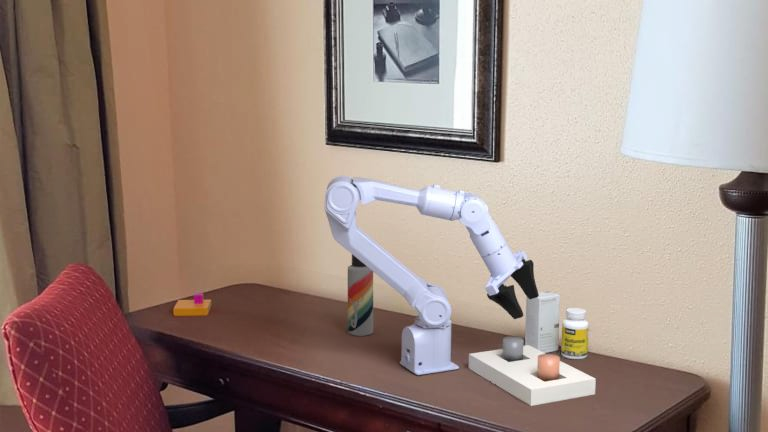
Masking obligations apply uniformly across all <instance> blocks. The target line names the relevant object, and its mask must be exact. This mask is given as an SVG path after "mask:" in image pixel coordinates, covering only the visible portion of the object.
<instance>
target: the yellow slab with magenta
mask: <svg viewBox="0 0 768 432" xmlns="http://www.w3.org/2000/svg"><path fill="white" fill-rule="evenodd" d="M211 308H212V299H204V292H202V293H199V292H198V293H196V292H195V293H194V295H193V299H178V300H177V302H176V303H175V305H174V307H173V311H172V312H173V316H174V317H176V316H177V317H179V316H181V317H182V316H183V317H184V316H188V317H189V316H190V317H191V316H208V315H209V312H210V310H211Z"/></svg>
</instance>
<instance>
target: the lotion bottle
mask: <svg viewBox="0 0 768 432" xmlns="http://www.w3.org/2000/svg"><path fill="white" fill-rule="evenodd" d="M373 332H374V272H373V271H372V270H371V269H370V268H368V267H367V266H366V265H365V264H363V263H362V262H361V261H360V260H359V259H357V258H356V257H355V256H354V255H353V254H351V264H350V265H348V266H347V333H348V334H349V335H352V336H355V337H357V336H358V337H364V336H369V335H372V334H373Z"/></svg>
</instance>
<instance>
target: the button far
mask: <svg viewBox="0 0 768 432" xmlns="http://www.w3.org/2000/svg"><path fill="white" fill-rule="evenodd" d="M524 343H525V339H524V338H522V337H519V336H511V335H510V336H505V337H503V338H502V349H503V356H502V359H504V360H506V361H508V362H513V361H519V360H523V346H524Z"/></svg>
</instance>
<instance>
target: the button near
mask: <svg viewBox="0 0 768 432" xmlns="http://www.w3.org/2000/svg"><path fill="white" fill-rule="evenodd" d="M560 358H561V357H560V356H558V355H557V354H554V353H553V354H552V353H545V354H541V355H539V356H538V364H537V378H539V379H540V380H542V381H545V382H546V381H552V380H558V379H559V366H560V361H561V359H560Z"/></svg>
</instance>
